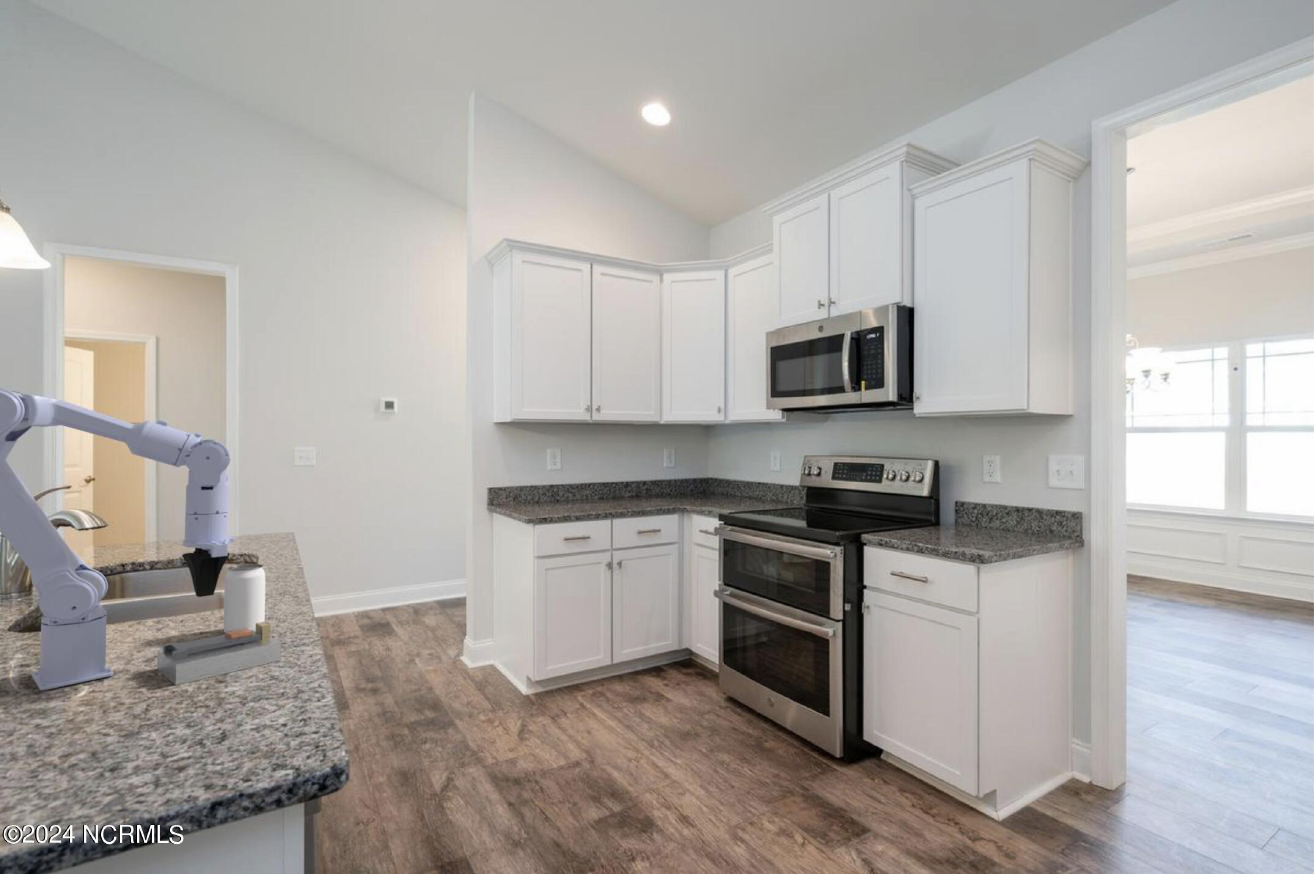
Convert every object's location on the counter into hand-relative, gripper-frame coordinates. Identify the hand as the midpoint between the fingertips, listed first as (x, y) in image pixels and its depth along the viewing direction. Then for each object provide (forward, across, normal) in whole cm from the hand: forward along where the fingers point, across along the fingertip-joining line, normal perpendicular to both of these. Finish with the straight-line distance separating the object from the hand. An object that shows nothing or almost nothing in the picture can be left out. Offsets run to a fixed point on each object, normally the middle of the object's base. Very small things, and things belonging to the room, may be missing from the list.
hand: (204, 595), depth 103 cm
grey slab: (+7, -5, 0) cm, 9 cm away
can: (+10, +13, -10) cm, 19 cm away
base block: (+10, -5, -1) cm, 12 cm away
